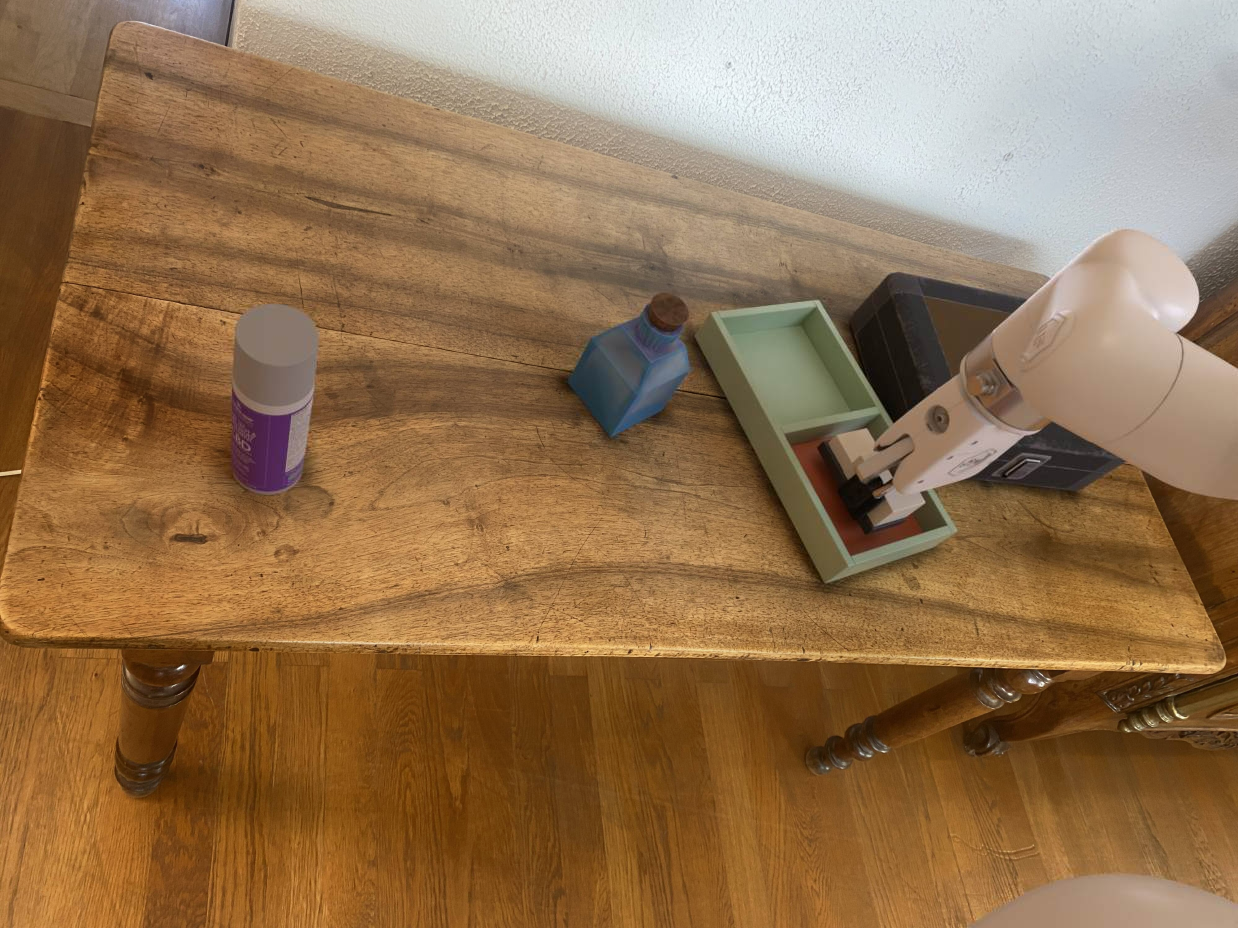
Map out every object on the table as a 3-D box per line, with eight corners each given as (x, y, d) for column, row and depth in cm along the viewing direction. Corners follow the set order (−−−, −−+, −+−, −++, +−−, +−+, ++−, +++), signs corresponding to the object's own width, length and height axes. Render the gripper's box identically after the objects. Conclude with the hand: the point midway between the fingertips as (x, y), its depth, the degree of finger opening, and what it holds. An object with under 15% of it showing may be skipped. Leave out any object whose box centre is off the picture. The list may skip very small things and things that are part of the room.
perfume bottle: (619, 358, 78) (673, 268, 69) (661, 411, 77) (722, 326, 68) (567, 382, 75) (616, 290, 65) (610, 437, 74) (667, 352, 64)
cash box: (893, 479, 83) (946, 436, 77) (844, 314, 93) (887, 265, 87) (1086, 499, 92) (1147, 463, 86) (1022, 347, 102) (1073, 304, 96)
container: (217, 476, 60) (215, 342, 48) (254, 427, 62) (261, 288, 51) (281, 506, 60) (295, 381, 48) (315, 456, 63) (336, 326, 51)
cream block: (900, 524, 77) (929, 503, 74) (864, 535, 75) (893, 514, 72) (851, 439, 81) (876, 416, 77) (816, 447, 78) (840, 423, 75)
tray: (800, 322, 90) (819, 299, 87) (932, 547, 81) (958, 530, 78) (693, 335, 83) (710, 312, 81) (824, 583, 74) (848, 566, 71)
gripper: (967, 444, 57) (818, 559, 72) (1115, 406, 65) (954, 516, 80) (909, 352, 60) (776, 480, 74) (1058, 327, 68) (912, 447, 83)
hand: (870, 498), depth 77 cm, fingers closed on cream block, 4 cm apart
